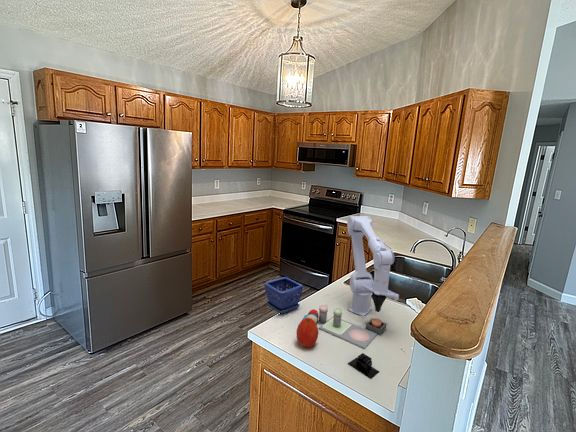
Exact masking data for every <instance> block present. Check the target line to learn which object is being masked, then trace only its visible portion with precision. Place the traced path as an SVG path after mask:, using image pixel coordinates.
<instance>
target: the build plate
mask: <svg viewBox="0 0 576 432" xmlns="http://www.w3.org/2000/svg"><path fill="white" fill-rule="evenodd" d="M346 364H347V365H348V366H350V367H352V368H353V369H354V370H356V371H357V372H359V373H360V374H362V375H363V376H365V377H366V378H368V379H369V380H372V379H373V378H374V377H376V376H377V375H378V374H379V373H380V370H377V369H376V368H375V367H373V360H372V357H371V356H369V355H366V354H365V353H363V352H362V353H361V354H359V355H358V356H357V357H355V358H354V359H352V360H350V361H349V362H348V363H346Z"/></svg>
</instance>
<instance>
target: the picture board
mask: <svg viewBox="0 0 576 432" xmlns="http://www.w3.org/2000/svg"><path fill="white" fill-rule="evenodd" d="M333 317H334V315H333V316H332V317H331V318H329V319H328V320H326V322H325V323H324V324H321V325H320V326H318V330H321V331H323V332H326V333H328V334H330V335H332V336H333V337H336V338H338V339H341V340H343V341H345V342H347V343H349V344H352V345H354V346H357V347H359V348H361V349H363V350H365V349H366V348H367V347H368V346H369V344H371V343H372V341H373V340H374V339H375V338H376V337H377V336H378V335H377V333H374V332H372V331H369V330H367V329H365V328H364V327H362V326H359V325H357V324H354V323H351V322H349V321H347V320H344V319H342V318H341V327H340V328H335V327H333Z"/></svg>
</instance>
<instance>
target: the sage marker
mask: <svg viewBox="0 0 576 432" xmlns="http://www.w3.org/2000/svg"><path fill="white" fill-rule="evenodd" d="M333 316H334V317H333ZM333 316H332V317H333V327H335V328H340V327H341V319H342V316H343V309H342V308H339V307H336V308H334V309H333Z"/></svg>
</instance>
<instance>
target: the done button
mask: <svg viewBox="0 0 576 432" xmlns="http://www.w3.org/2000/svg"><path fill="white" fill-rule="evenodd" d="M372 318H373V317H372ZM372 318H371V319H372ZM381 322H383V321H382V319H380V318H375V317H374V318H373V319H372V326H374V327H377V328H379V327H381Z"/></svg>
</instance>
